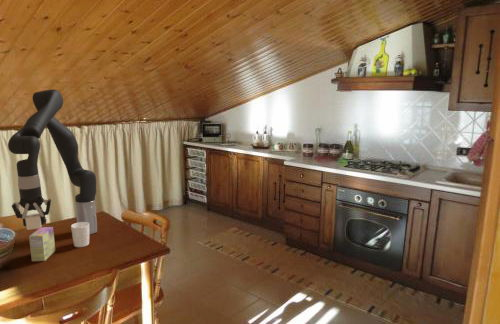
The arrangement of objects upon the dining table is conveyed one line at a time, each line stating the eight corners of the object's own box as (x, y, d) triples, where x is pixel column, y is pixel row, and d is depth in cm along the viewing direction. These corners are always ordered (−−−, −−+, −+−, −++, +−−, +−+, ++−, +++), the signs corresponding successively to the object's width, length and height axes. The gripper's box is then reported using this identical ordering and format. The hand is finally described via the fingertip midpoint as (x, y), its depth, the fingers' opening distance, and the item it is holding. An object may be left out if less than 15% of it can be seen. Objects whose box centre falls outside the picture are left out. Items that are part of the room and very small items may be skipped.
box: (42, 251, 166) (40, 226, 163) (55, 251, 166) (53, 226, 164) (31, 261, 156) (28, 236, 153) (44, 261, 156) (42, 235, 154)
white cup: (94, 242, 176) (92, 223, 174) (81, 249, 169) (80, 228, 167) (81, 240, 179) (80, 221, 177) (68, 246, 171) (67, 226, 169)
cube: (42, 223, 151) (41, 212, 150) (41, 228, 146) (39, 216, 145) (28, 225, 149) (27, 213, 148) (26, 229, 144) (25, 218, 143)
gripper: (51, 181, 150) (55, 220, 154) (10, 185, 144) (16, 224, 148) (49, 186, 143) (53, 226, 147) (6, 190, 138) (12, 231, 141)
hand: (34, 225), depth 147 cm, fingers closed on cube, 5 cm apart
